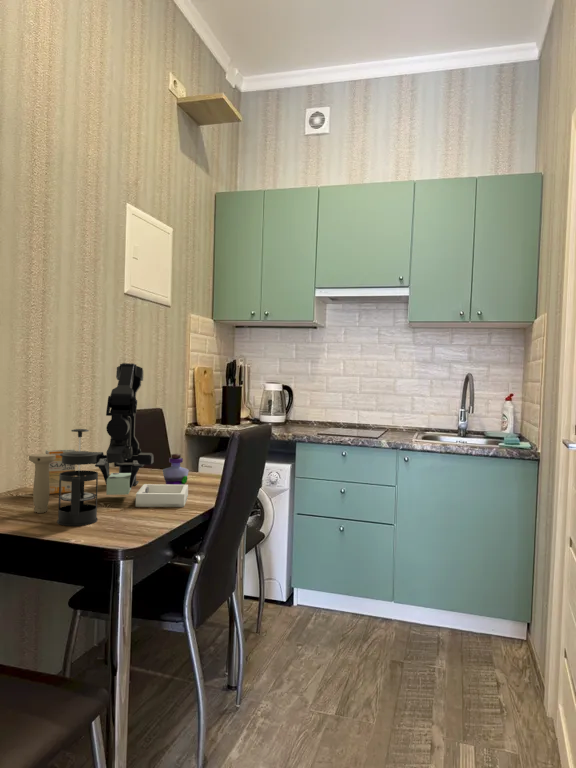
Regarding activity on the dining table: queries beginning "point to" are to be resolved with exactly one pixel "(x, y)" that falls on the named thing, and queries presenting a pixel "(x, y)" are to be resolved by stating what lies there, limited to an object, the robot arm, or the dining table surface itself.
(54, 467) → the supplement box
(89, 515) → the french press
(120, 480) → the green box with knobs
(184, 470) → the potion bottle
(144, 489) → the cabinet carcass
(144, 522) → the dining table surface
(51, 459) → the handle
